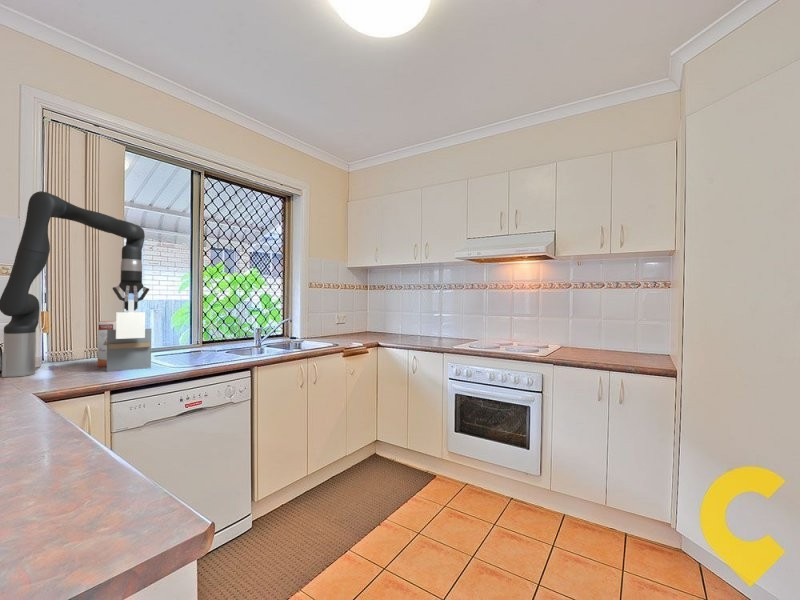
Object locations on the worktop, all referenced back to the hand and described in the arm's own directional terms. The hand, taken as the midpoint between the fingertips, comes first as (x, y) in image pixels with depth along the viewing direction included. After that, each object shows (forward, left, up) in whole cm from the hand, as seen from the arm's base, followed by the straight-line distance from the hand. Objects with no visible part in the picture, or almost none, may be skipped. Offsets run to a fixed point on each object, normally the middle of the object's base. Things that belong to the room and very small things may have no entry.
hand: (130, 310), depth 163 cm
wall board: (0, +8, -27) cm, 28 cm away
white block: (0, +1, -12) cm, 12 cm away
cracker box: (-4, +23, -27) cm, 35 cm away
